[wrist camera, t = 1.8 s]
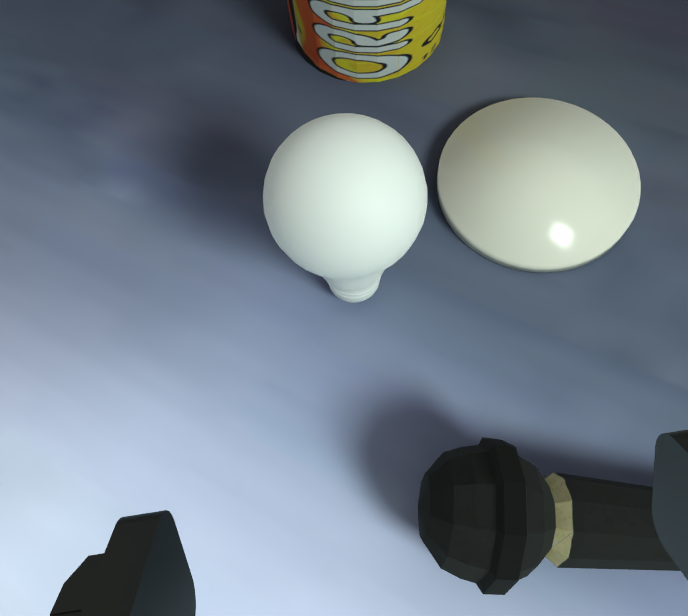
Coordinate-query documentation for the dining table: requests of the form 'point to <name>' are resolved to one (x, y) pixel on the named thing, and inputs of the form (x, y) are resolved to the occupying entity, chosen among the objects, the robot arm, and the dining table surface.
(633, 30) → the dining table surface
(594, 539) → the microphone
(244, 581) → the dining table surface
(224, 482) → the dining table surface
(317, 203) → the lightbulb
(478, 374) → the dining table surface
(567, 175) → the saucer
